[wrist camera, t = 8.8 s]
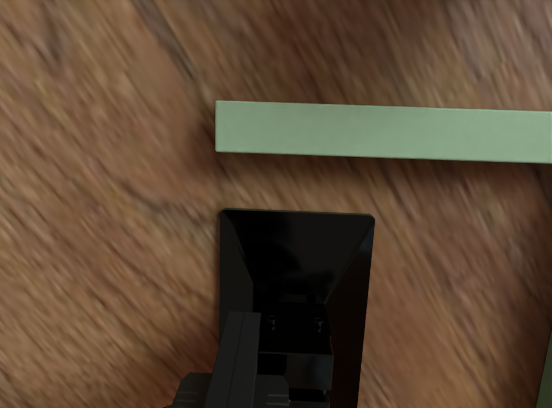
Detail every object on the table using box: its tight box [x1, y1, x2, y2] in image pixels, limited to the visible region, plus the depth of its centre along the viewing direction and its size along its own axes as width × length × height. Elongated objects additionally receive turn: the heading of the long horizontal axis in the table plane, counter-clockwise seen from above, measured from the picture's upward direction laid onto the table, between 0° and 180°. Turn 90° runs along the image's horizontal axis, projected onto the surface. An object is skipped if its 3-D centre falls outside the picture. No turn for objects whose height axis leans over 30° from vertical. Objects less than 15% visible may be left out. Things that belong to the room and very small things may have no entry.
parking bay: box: [215, 100, 552, 408], centre depth 19 cm, size 20×18×2 cm
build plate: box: [219, 208, 375, 408], centre depth 18 cm, size 12×7×5 cm, turn 178°
